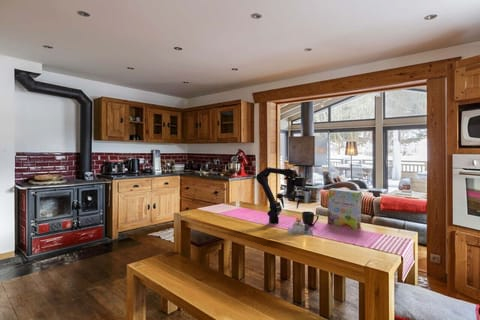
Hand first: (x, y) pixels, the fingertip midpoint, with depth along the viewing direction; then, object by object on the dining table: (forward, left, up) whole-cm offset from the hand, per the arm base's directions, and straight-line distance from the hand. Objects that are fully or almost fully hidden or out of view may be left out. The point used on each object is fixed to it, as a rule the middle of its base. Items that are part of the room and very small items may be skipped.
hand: (290, 208), depth 188 cm
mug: (+14, +6, -13) cm, 20 cm away
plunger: (+6, -12, -12) cm, 18 cm away
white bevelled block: (+7, -12, -12) cm, 19 cm away
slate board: (+7, -12, -13) cm, 19 cm away
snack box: (+38, +16, -13) cm, 43 cm away
